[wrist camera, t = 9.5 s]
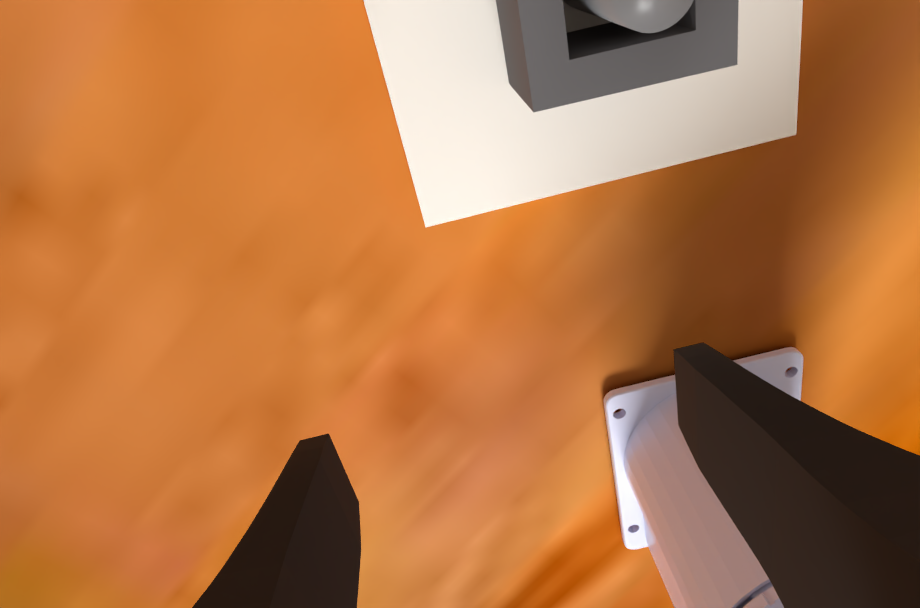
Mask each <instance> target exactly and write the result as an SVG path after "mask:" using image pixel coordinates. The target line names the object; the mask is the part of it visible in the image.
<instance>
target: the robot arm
mask: <svg viewBox="0 0 920 608" xmlns="http://www.w3.org/2000/svg"><path fill="white" fill-rule="evenodd" d="M803 359H804V358H803V355H802V354H801V353H800V352H799V351H798V350H797V349H796V348H794V347H787V348H783V349H779V350H774V351H770V352H766V353H762V354H758V355H754V356H750V357H746V358H741V359H737V360H733V361H732V360H731V359H729V358H728V357H726V356H724V355H723V354H721V353H720V352H718V351H716V350H715V349H713V348H712V347H710V346H708V345H707V344H705V343H699V344H695V345H690V346H686V347H682V348H678V349H674V365H675V375H671V376H667V377H663V378H659V379H655V380H651V381H647V382H642V383H638V384H634V385H630V386H626V387H622V388H618V389H614V390H611V391H609V392H608V393H607V394H606V395H605V397H604V409H605V416H606V424H607V431H608V438H609V445H610V453H611V460H612V467H613V474H614V481H615V489H616V496H617V503H618V510H619V518H620V525H621V532H622V539H623V542H624V544H625V546H626V547H627V548H628V549H632V550H633V549H639V548H643V547H647V546H648V547H649V549H650V552H651V554H652V556H653V559H654V561H655V563H656V566H657V568H658V570H659V573H660V575H661V577H662V580H663V582H664V584H665V586H666V589H667V591H668V593H669V596H670V598H671V600H672V603H673V605H674V607H675V608H920V456H919V455H916V454H914V453H911V452H909V451H906V450H904V449H901V448H899V447H896V446H894V445H892V444H889V443H887V442H885V441H882V440H880V439H878V438H875V437H873V436H871V435H868V434H866V433H864V432H861V431H859V430H857V429H855V428H853V427H850V426H848V425H846V424H844V423H842V422H840V421H838V420H836V419H834V418H832V417H830V416H828V415H826V414H824V413H822V412H820V411H818V410H816V409H814V408H813V407H811V406H809V405H807V404H805V403H803V402H801V389H802V374H803ZM790 367H791V369H790V370H788V371H786V370H787V369H788V368H790ZM785 371H786V372H785ZM617 409H622V410H621V411H619V412H615V410H617ZM614 412H615V413H614ZM360 556H361V536H360V515H359V501H358V499H357V497H356V495H355V492H354V490H353V488H352V486H351V483H350V481H349V479H348V476H347V474H346V472H345V470H344V467H343V465H342V463H341V461H340V458H339V456H338V454H337V451H336V449H335V447H334V445H333V442H332V440H331V438H330V435H329V434H325V435H321V436H317V437H313V438H308V439H304V440H300V441H299V443H298V445H297V446H296V448H295V450H294V451H293V453H292V455H291V456H290V458H289V460H288V462H287V464H286V465H285V467H284V469H283V471H282V472H281V474H280V476H279V478H278V480H277V481H276V483H275V485H274V487H273V488H272V490H271V492H270V494H269V495H268V497H267V499H266V500H265V502H264V504H263V505H262V507H261V509H260V510H259V512H258V514H257V515H256V517H255V519H254V520H253V522H252V524H251V525H250V527H249V528H248V530H247V532H246V533H245V535H244V536H243V538H242V539H241V541H240V542H239V544H238V545H237V547H236V548H235V550H234V551H233V553H232V554H231V556H230V557H229V559H228V560H227V562H226V563H225V565H224V566H223V568H222V569H221V571H220V572H219V573H218V575H217V576H216V577H215V579H214V580H213V582H212V583H211V584H210V586H209V587H208V588H207V590H206V591H205V592H204V593H203V595H202V596H201V597H200V598H199V600H198V601H197V602H196V603H195V605H194V606H193V607H192V608H357V597H358V584H359V570H360Z"/></svg>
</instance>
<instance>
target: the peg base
mask: <svg viewBox="0 0 920 608" xmlns="http://www.w3.org/2000/svg"><path fill="white" fill-rule="evenodd" d="M693 1H694V0H563V6H564V15H565V24H566V33H567V32H572V31H576V30H580V29H584V28H589V27H593V26H597V25H601V24H606V23H610V22H613V23H616V24H619V25H621V26H624V27H627V28H629V29H632V30H635V31H638V32H641V33H655V32H660V31H663V30H665V29H667V28H669V27H671V26H672V25H674V24H675V23H677V22H678V21H679V20H680V19H681V18H682V17H683V16H684V15H685V14H686V12H687V11H688V10H689V8H690V6H691V5H692V3H693ZM364 4H365V8H366V11H367V15H368V18H369V22H370V26H371V29H372V33H373V37H374V40H375V44H376V48H377V51H378V55H379V59H380V62H381V66H382V70H383V73H384V77H385V81H386V84H387V88H388V91H389V95H390V99H391V102H392V106H393V110H394V113H395V117H396V121H397V124H398V128H399V132H400V135H401V139H402V143H403V146H404V150H405V154H406V157H407V161H408V164H409V168H410V172H411V175H412V179H413V183H414V186H415V190H416V194H417V197H418V201H419V205H420V208H421V212H422V216H423V219H424V223H425V227H429V226H433V225H437V224H441V223H445V222H449V221H453V220H457V219H461V218H465V217H469V216H473V215H477V214H481V213H485V212H489V211H493V210H497V209H501V208H505V207H509V206H513V205H517V204H521V203H525V202H529V201H533V200H537V199H541V198H545V197H549V196H553V195H557V194H561V193H565V192H569V191H573V190H577V189H581V188H585V187H589V186H593V185H597V184H601V183H605V182H609V181H613V180H617V179H621V178H625V177H629V176H633V175H637V174H641V173H645V172H649V171H653V170H657V169H661V168H665V167H669V166H673V165H677V164H681V163H685V162H689V161H693V160H697V159H701V158H705V157H709V156H713V155H717V154H721V153H725V152H729V151H733V150H737V149H741V148H745V147H749V146H753V145H757V144H761V143H765V142H769V141H773V140H777V139H781V138H785V137H789V136H793V135H796V132H797V111H798V91H799V71H800V50H801V30H802V9H803V0H739V2H738V57H737V65H735V66H730V67H726V68H722V69H717V70H713V71H709V72H705V73H700V74H696V75H692V76H688V77H683V78H679V79H675V80H670V81H666V82H662V83H658V84H653V85H649V86H645V87H641V88H636V89H632V90H628V91H623V92H619V93H615V94H611V95H606V96H602V97H598V98H593V99H589V100H585V101H581V102H576V103H572V104H568V105H564V106H559V107H555V108H551V109H546V110H542V111H538V112H533V111H532V110H531V109H530V108H529V107H528V105H527V104H526V103H525V102H524V101H523V100H522V98H521V97H520V96H519V95H518V94H517V93H516V91H515V90H514V89H513V88H512V87H511V85H510V84H509V80H508V74H507V68H506V61H505V55H504V49H503V42H502V36H501V30H500V24H499V17H498V11H497V5H496V0H364Z"/></svg>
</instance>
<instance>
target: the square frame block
mask: <svg viewBox="0 0 920 608" xmlns="http://www.w3.org/2000/svg"><path fill="white" fill-rule="evenodd" d="M738 2H739V0H694V1H693V3H692V5H691V6H690V8H689V10H688V11H687V12H686V14H685V15H684V16H683V17H682V18H681V19H680V20H679V21H678V22H677V23H675V24H674V25H672V26H671V27H669V28H667V29H665V30H663V31H660V32H655V33H641V32H638V31H635V30H632V29H629V28H627V27H624V26H621V25H619V24H616V23H613V22H610V23H606V24H601V25H597V26H593V27H589V28H584V29H580V30H576V31H572V32H567V33H566V24H565V15H564V6H563V0H496V5H497V11H498V17H499V24H500V30H501V36H502V42H503V49H504V55H505V61H506V68H507V74H508V80H509V84H510V85H511V87H512V88H513V89H514V90H515V91H516V93H517V94H518V95H519V96H520V97H521V98H522V100H523V101H524V102H525V103H526V104H527V105H528V107H529V108H530V109H531V110H532V111H533V112H538V111H542V110H546V109H551V108H555V107H559V106H564V105H568V104H572V103H576V102H581V101H585V100H589V99H593V98H598V97H602V96H606V95H611V94H615V93H619V92H623V91H628V90H632V89H636V88H641V87H645V86H649V85H653V84H658V83H662V82H666V81H670V80H675V79H679V78H683V77H688V76H692V75H696V74H700V73H705V72H709V71H713V70H717V69H722V68H726V67H730V66H735V65H737V57H738Z"/></svg>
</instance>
